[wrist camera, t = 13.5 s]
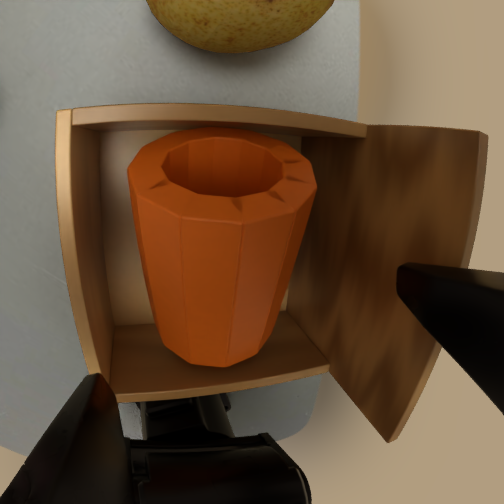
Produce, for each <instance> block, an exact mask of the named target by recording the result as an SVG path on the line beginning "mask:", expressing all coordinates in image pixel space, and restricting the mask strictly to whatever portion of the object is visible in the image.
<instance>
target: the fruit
mask: <svg viewBox="0 0 504 504" xmlns="http://www.w3.org/2000/svg"><path fill="white" fill-rule="evenodd" d="M146 1H147V3H148V5H149V7H150V9H151V11H152V13H153V14H154V16H155V17H156V18H157V20H158V21H159V22H160V23H161V24H162V25H163V26H164V27H165V28H166V29H167V30H169V31H170V32H171V33H172V34H173V35H175V36H176V37H178V38H179V39H181V40H182V41H184V42H186V43H188V44H190V45H193V46H195V47H197V48H200V49H205V50H209V51H213V52H216V53H243V52H253V51H257V50H261V49H265V48H270V47H274V46H276V45H279V44H282V43H285V42H288V41H290V40H292V39H294V38H296V37H298V36H299V35H301V34H302V33H304V32H305V31H307V30H308V29H309V28H310V27H311V26H313V25H314V24H315V23H316V22H317V21H318V20H319V19H320V18H321V17H322V16H323V15H324V14H325V13H326V11H327V10H328V9H329V8H330V7H331V6H332V4H333V2H334V0H146Z"/></svg>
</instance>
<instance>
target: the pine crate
mask: <svg viewBox="0 0 504 504" xmlns="http://www.w3.org/2000/svg"><path fill="white" fill-rule="evenodd" d="M204 127H224V128H235V129H244V130H250V131H254V132H257V133H260V134H263V135H266V136H269V137H271V138H274V139H277V140H280V141H283V142H285V143H287V144H288V145H290V146H291V147H292V148H294V149H295V150H296V151H297V152H299V153H300V154H301V155H303V156H304V157H305V158H306V159H308V160H309V161H310V163H311V165H312V169H313V173H314V176H315V180H316V184H317V191H316V194H315V198H314V201H313V205H312V208H311V212H310V215H309V218H308V222H307V225H306V228H305V232H304V235H303V238H302V242H301V245H300V248H299V251H298V255H297V258H296V261H295V264H294V267H293V271H292V274H291V277H290V280H289V283H288V286H287V289H286V292H285V295H284V298H283V302H282V305H281V308H280V311H279V314H278V317H277V320H276V323H275V326H274V328H273V331H272V333H271V335H270V336H269V338H268V339H267V340H266V342H265V343H264V345H263V346H262V348H261V349H260V350H259V352H258V353H257V354H256V355H254V356H252V357H250V358H247V359H245V360H243V361H240V362H238V363H236V364H233V365H231V366H228V367H214V366H204V365H195V364H190V363H188V362H187V361H185V360H184V359H183V358H181V357H180V356H178V355H177V354H175V353H174V352H173V351H171V350H170V349H168V348H167V347H166V346H165V345H164V344H163V342H162V339H161V337H160V335H159V332H158V330H157V327H156V325H155V322H154V319H153V315H152V311H151V307H150V302H149V298H148V293H147V289H146V284H145V279H144V275H143V270H142V265H141V259H140V254H139V249H138V243H137V237H136V231H135V225H134V219H133V213H132V206H131V199H130V192H129V184H128V176H127V168H128V166H129V165H130V163H131V162H132V160H133V159H134V157H135V156H136V154H137V153H138V152H139V150H140V149H141V147H143V146H144V145H146V144H148V143H150V142H153V141H155V140H157V139H159V138H161V137H163V136H165V135H167V134H170V133H174V132H176V131H182V130H189V129H196V128H204ZM487 150H488V135H486V134H484V133H482V132H480V131H475V130H466V129H455V128H443V127H429V126H409V125H366V124H363V123H358V122H353V121H348V120H343V119H337V118H332V117H326V116H320V115H314V114H307V113H300V112H293V111H285V110H277V109H268V108H258V107H247V106H234V105H219V104H195V103H142V104H118V105H103V106H91V107H80V108H73V109H63V110H58V111H57V112H56V130H55V174H56V196H57V210H58V222H59V231H60V240H61V248H62V255H63V262H64V268H65V274H66V280H67V286H68V291H69V296H70V301H71V306H72V311H73V315H74V319H75V324H76V328H77V332H78V336H79V340H80V343H81V347H82V351H83V354H84V358H85V361H86V365H87V368H88V371H89V374H94V373H101V374H102V375H103V377H104V378H105V380H106V381H107V383H108V384H109V386H110V387H111V389H112V390H113V392H114V393H115V396H116V398H117V403H123V402H143V401H157V400H169V399H179V398H189V397H197V396H206V395H213V394H220V393H227V392H234V391H240V390H246V389H252V388H257V387H263V386H268V385H273V384H278V383H283V382H288V381H292V380H297V379H301V378H306V377H310V376H314V375H318V374H322V373H326V372H328V371H329V372H330V374H331V375H332V376H333V377H334V379H335V380H336V381H337V382H338V384H339V385H340V386H341V387H342V388H343V390H344V391H345V392H346V393H347V395H348V396H349V397H350V398H351V400H352V401H353V402H354V403H355V405H356V406H357V407H358V408H359V409H360V411H361V412H362V413H363V414H364V415H365V417H366V418H367V419H368V420H369V422H370V423H371V424H372V425H373V426H374V428H375V429H376V430H377V431H378V433H379V434H380V435H381V436H382V437H383V439H384V440H385V441H386V442H387V443H390V442H392V441H394V440H396V439H397V438H398V436H399V435H400V433H401V431H402V429H403V428H404V426H405V424H406V422H407V420H408V419H409V417H410V414H411V413H412V411H413V409H414V407H415V405H416V403H417V401H418V399H419V397H420V395H421V393H422V391H423V389H424V387H425V385H426V383H427V380H428V378H429V376H430V374H431V372H432V370H433V367H434V365H435V362H436V360H437V358H438V356H439V353H440V351H441V348H442V346H441V345H440V344H439V343H438V342H437V341H436V340H435V339H434V338H433V337H432V336H431V335H430V334H429V333H428V332H427V331H426V329H425V328H424V327H423V326H422V325H421V324H420V322H419V321H418V320H417V319H416V317H415V316H414V315H413V314H412V312H411V311H410V310H409V309H408V308H407V306H406V305H405V304H404V303H403V302H402V300H401V299H400V298H399V297H398V295H397V292H396V271H397V268H398V267H399V266H400V265H402V264H404V263H407V262H413V263H422V264H431V265H440V266H449V267H458V268H467V269H468V266H469V262H470V258H471V253H472V249H473V245H474V241H475V236H476V231H477V226H478V221H479V215H480V209H481V203H482V197H483V189H484V181H485V173H486V163H487Z"/></svg>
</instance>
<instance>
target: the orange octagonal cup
mask: <svg viewBox="0 0 504 504" xmlns="http://www.w3.org/2000/svg"><path fill="white" fill-rule="evenodd" d="M127 176H128V184H129V192H130V199H131V206H132V213H133V219H134V225H135V231H136V237H137V243H138V249H139V254H140V259H141V265H142V270H143V275H144V279H145V284H146V289H147V293H148V298H149V302H150V307H151V311H152V315H153V319H154V322H155V325H156V327H157V330H158V332H159V335H160V337H161V339H162V342H163V344H164V345H165V346H166V347H167V348H168V349H170V350H171V351H173V352H174V353H175V354H177V355H178V356H180V357H181V358H183V359H184V360H185V361H187V362H188V363H190V364H195V365H204V366H214V367H228V366H231V365H233V364H236V363H238V362H240V361H243V360H245V359H247V358H250V357H252V356H254V355H256V354H257V353H258V352H259V350H260V349H261V348H262V346H263V345H264V343H265V342H266V340H267V339H268V338H269V336H270V335H271V333H272V331H273V328H274V326H275V323H276V320H277V317H278V314H279V311H280V308H281V305H282V302H283V298H284V295H285V292H286V289H287V286H288V283H289V280H290V277H291V274H292V271H293V267H294V264H295V261H296V258H297V255H298V251H299V248H300V245H301V242H302V238H303V235H304V232H305V228H306V225H307V222H308V218H309V215H310V212H311V208H312V205H313V201H314V198H315V194H316V191H317V184H316V180H315V176H314V173H313V169H312V165H311V163H310V161H309V160H308V159H306V158H305V157H304V156H303V155H301V154H300V153H299V152H297V151H296V150H295V149H294V148H292V147H291V146H290V145H288V144H287V143H285V142H283V141H280V140H277V139H274V138H271V137H269V136H266V135H263V134H260V133H257V132H254V131H250V130H244V129H235V128H224V127H204V128H196V129H189V130H182V131H176V132H174V133H170V134H167V135H165V136H163V137H161V138H159V139H157V140H155V141H153V142H150V143H148V144H146V145H144V146H143V147H141V149H140V150H139V152H138V153H137V154H136V156H135V157H134V159H133V160H132V162H131V163H130V165H129V166H128V168H127Z"/></svg>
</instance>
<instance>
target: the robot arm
mask: <svg viewBox="0 0 504 504" xmlns="http://www.w3.org/2000/svg"><path fill="white" fill-rule="evenodd" d="M396 292H397V295H398V297H399V298H400V299H401V300H402V302H403V303H404V304H405V305H406V306H407V308H408V309H409V310H410V311H411V312H412V314H413V315H414V316H415V317H416V319H417V320H418V321H419V322H420V324H421V325H422V326H423V327H424V328H425V329H426V331H427V332H428V333H429V334H430V335H431V336H432V337H433V338H434V339H435V340H436V341H437V342H438V343H439V344H440V345H441V346H442V347H443V348H444V349H445V350H446V351H447V352H448V353H449V354H450V355H451V357H452V358H453V359H454V360H455V361H456V362H457V363H458V364H459V365H460V366H461V367H462V368H463V369H464V371H465V372H466V373H467V374H468V375H469V376H470V377H471V378H472V379H473V380H474V382H475V383H476V384H477V385H478V386H479V387H480V388H481V389H482V390H483V391H484V393H485V394H486V395H487V396H488V397H489V398H490V400H491V401H492V402H493V403H494V404H495V405H496V406H497V408H498V409H499V410H500V411H501V412H502V413H503V415H504V273H502V272H492V271H484V270H476V269H467V268H458V267H449V266H440V265H431V264H422V263H413V262H407V263H404V264H402V265H400V266H399V267H398V268H397V271H396ZM135 403H136V405H137V406H138V408H139V409H140V411H141V422H142V434H143V440H138V439H130V438H129V437H124V435H123V430H122V425H121V420H120V414H119V409H118V403H117V398H116V396H115V393H114V392H113V390H112V389H111V387H110V386H109V384H108V383H107V381H106V380H105V378H104V377H103V375H102V374H101V373H94V374H90V375H87V376H86V377H85V378H84V379H83V380H82V382H81V383H80V384H79V386H78V387H77V388H76V390H75V391H74V393H73V394H72V395H71V397H70V398H69V399H68V401H67V402H66V403H65V405H64V406H63V408H62V409H61V410H60V412H59V413H58V414H57V416H56V417H55V419H54V420H53V421H52V423H51V424H50V426H49V427H48V429H47V430H46V431H45V433H44V434H43V436H42V437H41V439H40V440H39V441H38V443H37V444H36V446H35V447H34V449H33V450H32V452H31V453H30V455H29V456H28V458H27V459H26V461H25V462H24V463H25V465H24V464H23V465H22V466H21V468H20V470H19V471H18V473H17V474H16V476H15V477H14V479H13V480H12V482H11V483H10V485H9V486H8V487H7V489H6V490H5V492H4V493H3V494H2V496H1V497H0V504H311V501H312V499H311V491H310V486H309V484H308V481H307V478H306V476H305V474H304V473H303V471H302V470H301V468H299V466H298V465H297V464H296V463H295V462H294V461H293V460H292V459H291V458H290V457H289V456H288V454H286V452H285V451H284V450H283V449H282V448H281V447H280V446H279V445H278V444H277V443H276V442H275V440H274V439H273V438H272V437H271V436H270V435H269V434H268V433H259V434H258V435H253V436H244V437H235V435H234V433H233V430H232V427H231V425H230V422H229V419H228V417H227V414H226V412H227V411H229V410H230V408H231V405H230V402H229V400H228V397H227V395H226V393H220V394H213V395H206V396H197V397H189V398H179V399H169V400H157V401H143V402H135Z"/></svg>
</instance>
